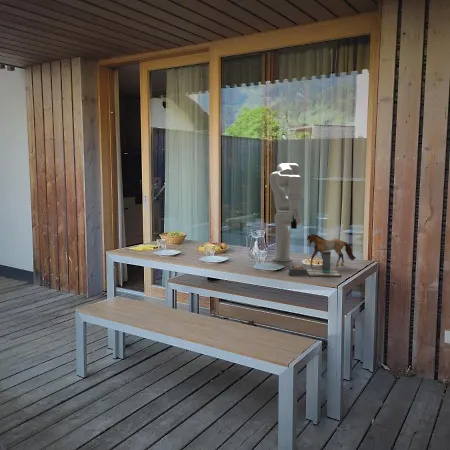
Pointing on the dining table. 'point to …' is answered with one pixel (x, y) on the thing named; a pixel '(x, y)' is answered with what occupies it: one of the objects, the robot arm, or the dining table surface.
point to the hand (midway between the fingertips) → (293, 228)
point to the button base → (297, 271)
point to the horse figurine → (329, 247)
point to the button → (297, 267)
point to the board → (319, 273)
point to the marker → (326, 262)
